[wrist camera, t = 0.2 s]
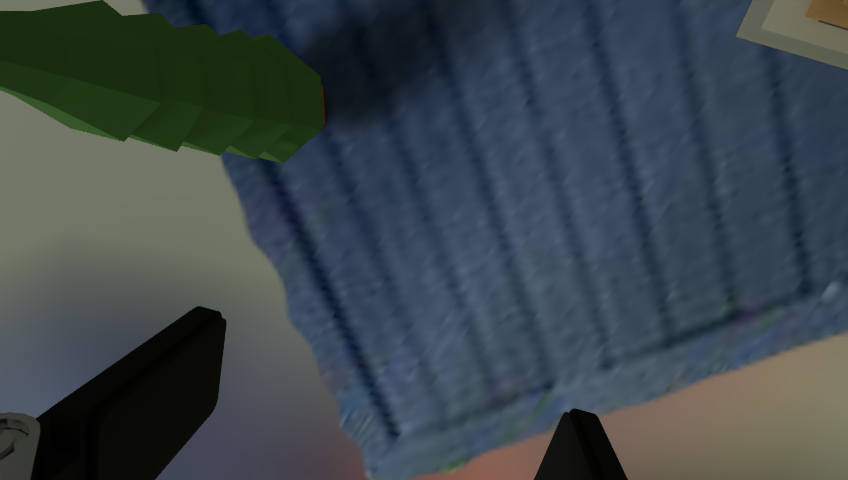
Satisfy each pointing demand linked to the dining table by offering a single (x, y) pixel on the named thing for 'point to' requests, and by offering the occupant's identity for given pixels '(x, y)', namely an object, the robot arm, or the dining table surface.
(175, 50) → the decorative tree
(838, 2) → the tab
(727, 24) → the dining table surface
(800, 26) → the switch panel
